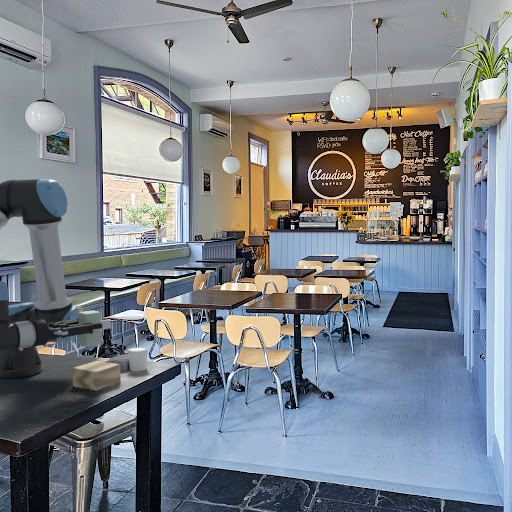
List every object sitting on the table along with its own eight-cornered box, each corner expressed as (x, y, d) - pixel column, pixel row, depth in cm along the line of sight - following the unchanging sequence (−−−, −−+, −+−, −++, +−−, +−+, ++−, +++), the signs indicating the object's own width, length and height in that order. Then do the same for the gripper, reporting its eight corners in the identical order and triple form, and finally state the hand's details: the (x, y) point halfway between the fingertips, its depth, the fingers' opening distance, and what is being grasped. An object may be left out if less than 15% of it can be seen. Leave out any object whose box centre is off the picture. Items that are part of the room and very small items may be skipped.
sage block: (79, 344, 167) (77, 312, 166) (94, 341, 170) (93, 310, 170) (86, 347, 163) (85, 314, 163) (101, 344, 167) (100, 312, 166)
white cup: (152, 367, 188) (151, 347, 188) (140, 372, 182) (139, 352, 181) (135, 365, 191) (135, 346, 190) (123, 370, 185) (123, 350, 184)
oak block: (73, 387, 167) (72, 367, 167) (97, 378, 176) (97, 360, 175) (96, 391, 162) (96, 372, 162) (120, 383, 171) (120, 364, 170)
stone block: (101, 376, 185) (128, 371, 183) (98, 362, 185) (125, 357, 183) (117, 368, 197) (142, 363, 195) (114, 355, 197) (139, 350, 195)
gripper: (19, 341, 161) (92, 330, 177) (44, 352, 148) (120, 338, 164) (18, 316, 160) (91, 307, 176) (43, 324, 147) (120, 314, 163)
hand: (105, 322), depth 170 cm, fingers closed on sage block, 5 cm apart
